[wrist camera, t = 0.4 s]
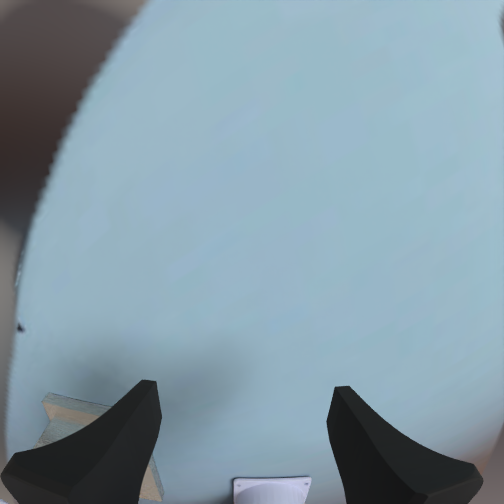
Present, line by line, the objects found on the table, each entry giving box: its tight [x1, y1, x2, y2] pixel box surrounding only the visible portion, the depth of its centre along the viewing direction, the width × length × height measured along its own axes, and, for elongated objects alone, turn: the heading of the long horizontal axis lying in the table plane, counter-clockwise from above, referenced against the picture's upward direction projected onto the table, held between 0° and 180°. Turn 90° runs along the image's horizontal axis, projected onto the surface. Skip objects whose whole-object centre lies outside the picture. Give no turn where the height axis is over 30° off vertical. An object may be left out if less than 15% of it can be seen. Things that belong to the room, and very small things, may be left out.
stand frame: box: [33, 393, 164, 501], centre depth 22 cm, size 14×10×7 cm
